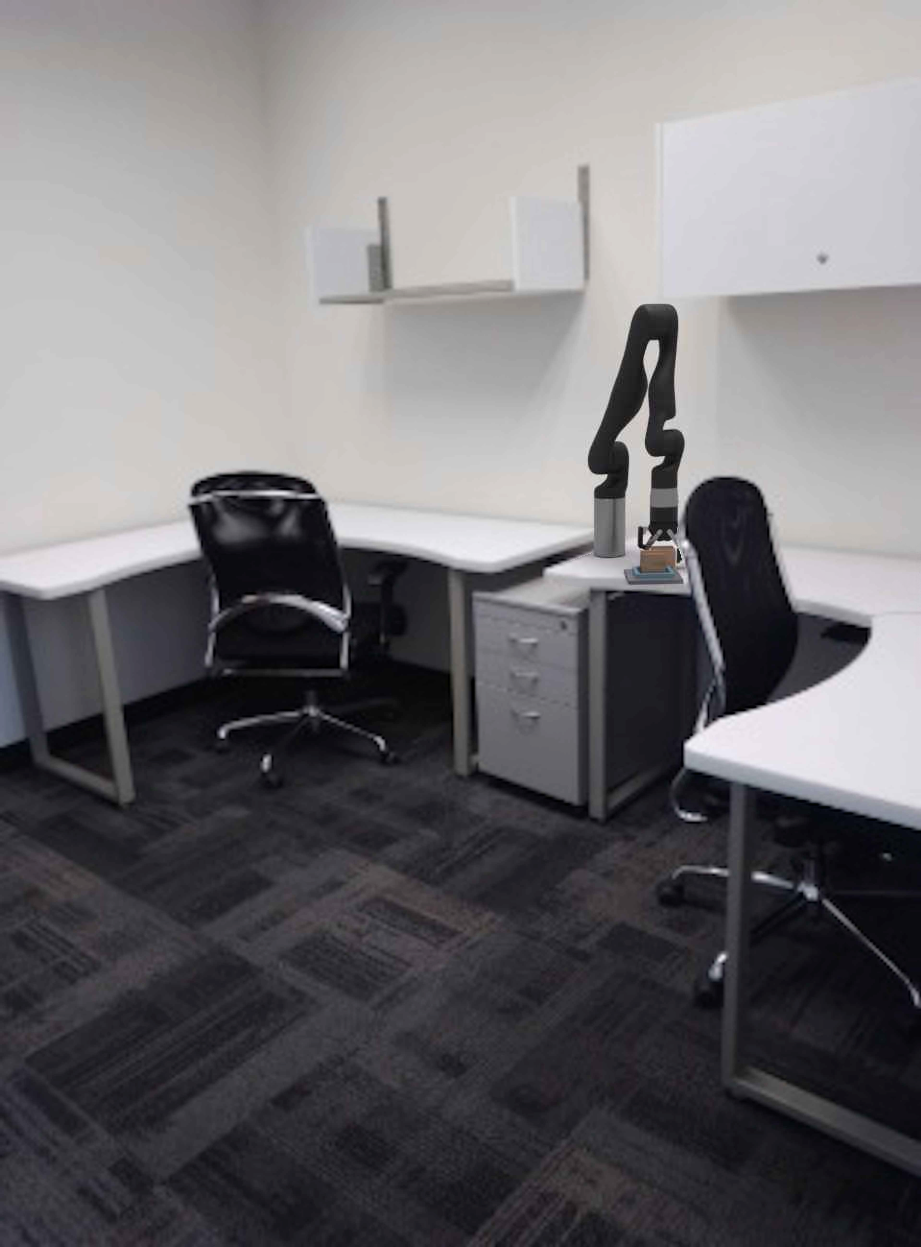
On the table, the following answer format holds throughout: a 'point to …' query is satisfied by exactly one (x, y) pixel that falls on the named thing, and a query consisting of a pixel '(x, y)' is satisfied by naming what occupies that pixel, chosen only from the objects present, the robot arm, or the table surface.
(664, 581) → the baseplate
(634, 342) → the robot arm
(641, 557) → the walnut block
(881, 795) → the table surface
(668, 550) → the terracotta block
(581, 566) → the table surface
